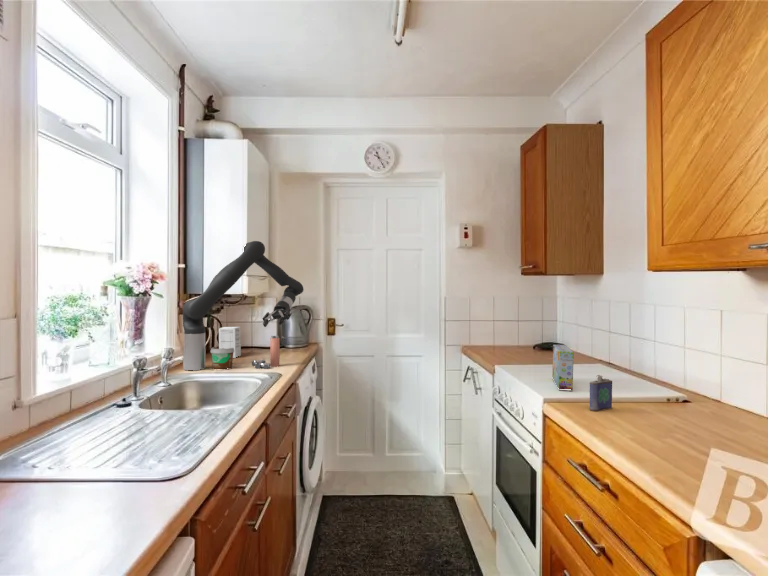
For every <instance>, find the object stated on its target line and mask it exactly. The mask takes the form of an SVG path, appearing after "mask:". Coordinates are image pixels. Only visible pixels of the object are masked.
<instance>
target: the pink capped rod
mask: <svg viewBox="0 0 768 576" xmlns="http://www.w3.org/2000/svg"><path fill="white" fill-rule="evenodd" d="M280 343H281V342H280V337H279V335H271V336H270V343H269V345H270V346H269V347H270V348H269V349H270V351H269V352H270V355H269V356H270V357H269V358H270V360H269V363H270V368H276V367H277V366H278V367H280V360H281V359H280Z"/></svg>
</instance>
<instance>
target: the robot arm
mask: <svg viewBox="0 0 768 576" xmlns="http://www.w3.org/2000/svg"><path fill="white" fill-rule="evenodd" d="M245 244H246V246H245V247H244V246H243V247H244V252H243V251H242V254H240V255H239V256H238V257H237V258H235V259H233V261H231V262H229V263H228V264H227V265H226V266H224V267H223V268H222V269H220V271H219V272H218V273H216V274H215V276H214V277H213V279H212V280H211V281H210V283H209V285H208V287H207V288H206V289H205V291H203V292H202V293H201V294H200V295H199V296H198V297H196V298H195V299H190V300H188V301H185V303H184V304H183V307H182V327H183V333H184V335H183V338H184V339H183V343H184V346H183V349H182V357H184V360H183V359H182V370H184V371H188V370H193V371H201V370H200V369H202V370H204V368H205V369H206V326H205V323H204V317H206V315H207V314H208V312H209V311H210V310H211V309H212V307H213V306H214V305H215V304H216V302H217V301H218V300H219V299H221V297H222V296H224V295H225V294H226V293H227V291H229V290H230V289H231V288H232V287H233V286H234V285H235V284H236V283H237V282H238V280H239V279H240V278H241V277H242V276H243V275H245V272H247V271H248V269H249V268H250V267H251V266H253V265H254V264H255V265H257V267H259V268H261V270H263V271H264V272H265V273H267V274H268V275H269V276H270V277H271V278H272V279H273V280H274V281H275V282H276V283H277V284H278V285H279V286H280V287H285V288H284V291H283V293H282V294H283V295H282V296H281V298H279V300H278V302H277V303H276V304H275V306H274V307H273V311H272V312H271V313H270V312H268V311H267V312H266V313H265V314H264V316H263V317H262V321H263V323H262V326H263V327H264V328H266V327H267V326H268V325H269V323H270V322H273V321H275V320H278V321H277V322H278V325H279V326H281V325H282V324H283V323H284V322H285V321H286V320H290V318H291V316H292V314H293V312H292V310H291V309H292V308H293V304H294V303H295V301H296V300H297V299H296V297H297V296H298V295H300V294H303V292H304V290H305V289H304V286H303V285H302V283H301V282H300V281H298V280H297V279H295V278H293V277H292V276H289V274H288V273H286V272H285V270H283V269H282V268H281V267H280V266H278V265H277V264H275V262H272V261H271V260H270V259H268V258H267V257H266V256H265V255H264V254H265V252H266V247H265V246H266V245H265V244H264V243H263V242H261V241H259V240H253V241H250V242H246V243H245ZM286 286H287V287H286Z"/></svg>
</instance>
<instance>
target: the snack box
mask: <svg viewBox="0 0 768 576" xmlns="http://www.w3.org/2000/svg"><path fill="white" fill-rule="evenodd" d="M574 355H575V352H574V351H573V350H572V349H570V347H568V346H567V345H565V344H552V377H553V379H554V381H555V383H556V384H555V383H554V384H555V386H556V385H557V386H556V388H557V387H558V388H559V389H571V390H573V389H574V358H575V357H574ZM553 379H552V380H553ZM554 381H553V382H554ZM558 388H557V389H558Z"/></svg>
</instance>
